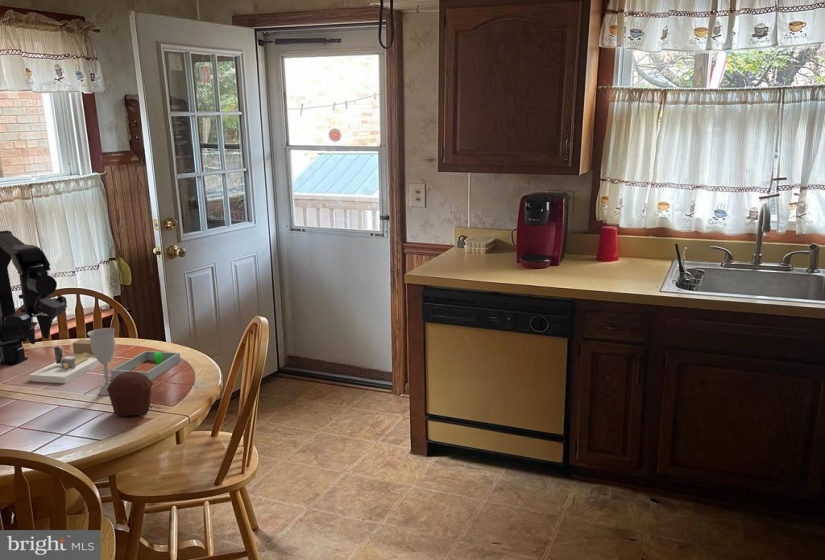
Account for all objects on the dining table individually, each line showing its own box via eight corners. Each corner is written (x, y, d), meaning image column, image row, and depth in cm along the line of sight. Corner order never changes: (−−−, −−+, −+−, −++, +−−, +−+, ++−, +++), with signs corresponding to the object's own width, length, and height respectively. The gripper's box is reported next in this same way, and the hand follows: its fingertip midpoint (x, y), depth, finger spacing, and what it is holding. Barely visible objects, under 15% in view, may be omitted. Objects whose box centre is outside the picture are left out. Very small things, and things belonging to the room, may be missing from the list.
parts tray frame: (111, 379, 202) (110, 370, 202) (146, 359, 220) (145, 350, 219) (148, 382, 200) (147, 372, 200) (180, 361, 218) (179, 352, 217)
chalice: (116, 385, 198) (110, 326, 194) (126, 391, 193) (119, 331, 189) (90, 392, 193) (83, 331, 189) (99, 398, 188) (92, 336, 184)
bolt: (50, 367, 207) (47, 350, 206) (72, 356, 217) (70, 340, 215) (68, 368, 206) (66, 351, 205) (89, 357, 215) (87, 341, 214)
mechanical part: (178, 376, 211) (175, 352, 209) (157, 379, 209) (154, 355, 207) (176, 364, 222) (173, 341, 220) (157, 367, 220) (154, 344, 218)
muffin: (107, 406, 183) (103, 371, 181) (150, 397, 189) (147, 363, 186) (112, 421, 173) (108, 385, 171) (157, 412, 178) (154, 376, 176)
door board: (29, 381, 202) (27, 363, 201) (82, 355, 225) (80, 339, 224) (65, 383, 200) (63, 365, 199) (114, 356, 223) (113, 341, 222)
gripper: (33, 299, 187) (41, 352, 190) (78, 284, 205) (84, 333, 208) (-2, 297, 189) (6, 350, 193) (46, 282, 207) (52, 331, 210)
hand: (39, 341), depth 201 cm, fingers open, 5 cm apart
